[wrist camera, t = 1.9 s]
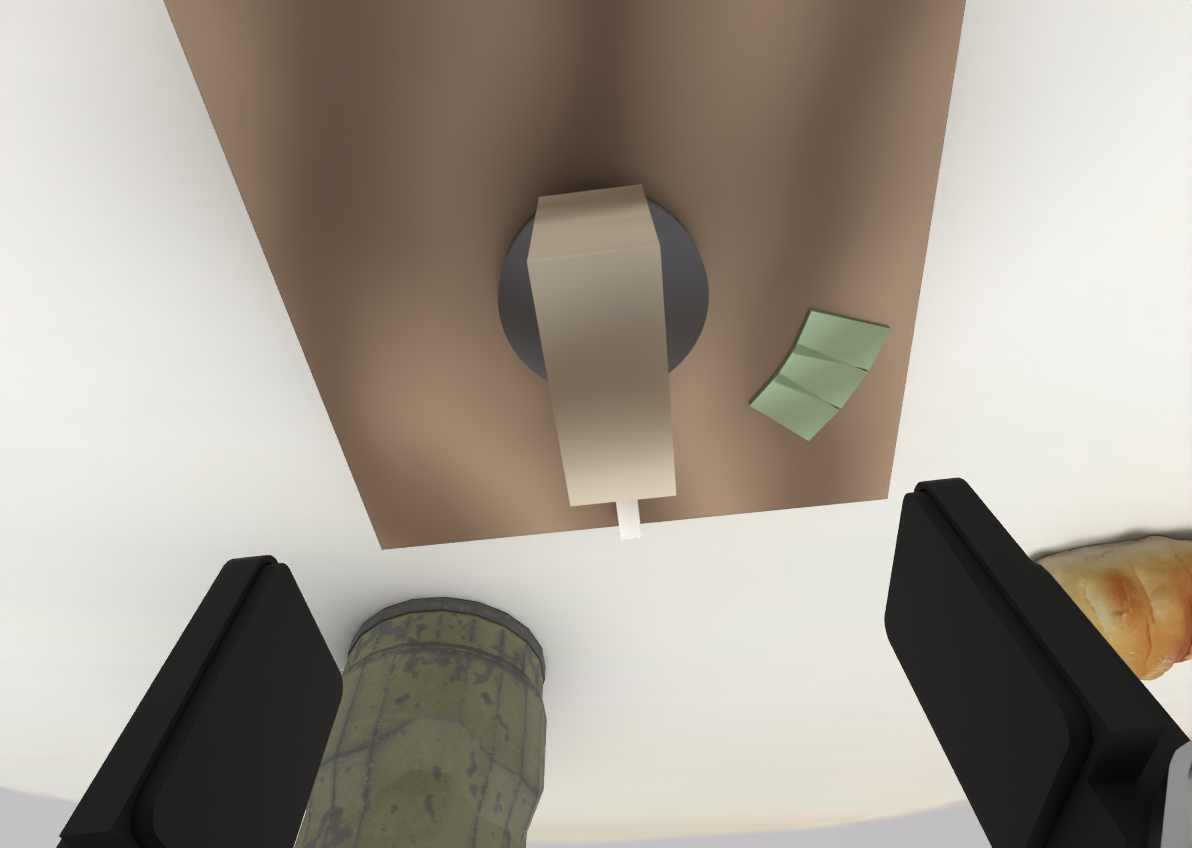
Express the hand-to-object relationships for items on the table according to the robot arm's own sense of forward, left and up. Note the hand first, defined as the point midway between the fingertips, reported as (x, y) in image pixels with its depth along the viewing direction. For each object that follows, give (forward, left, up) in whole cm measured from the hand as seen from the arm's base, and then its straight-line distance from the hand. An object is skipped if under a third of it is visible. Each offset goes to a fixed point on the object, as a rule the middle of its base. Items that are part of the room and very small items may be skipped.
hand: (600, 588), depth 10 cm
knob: (0, +2, -10) cm, 11 cm away
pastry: (-20, +16, -13) cm, 29 cm away
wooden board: (0, -1, -12) cm, 12 cm away
